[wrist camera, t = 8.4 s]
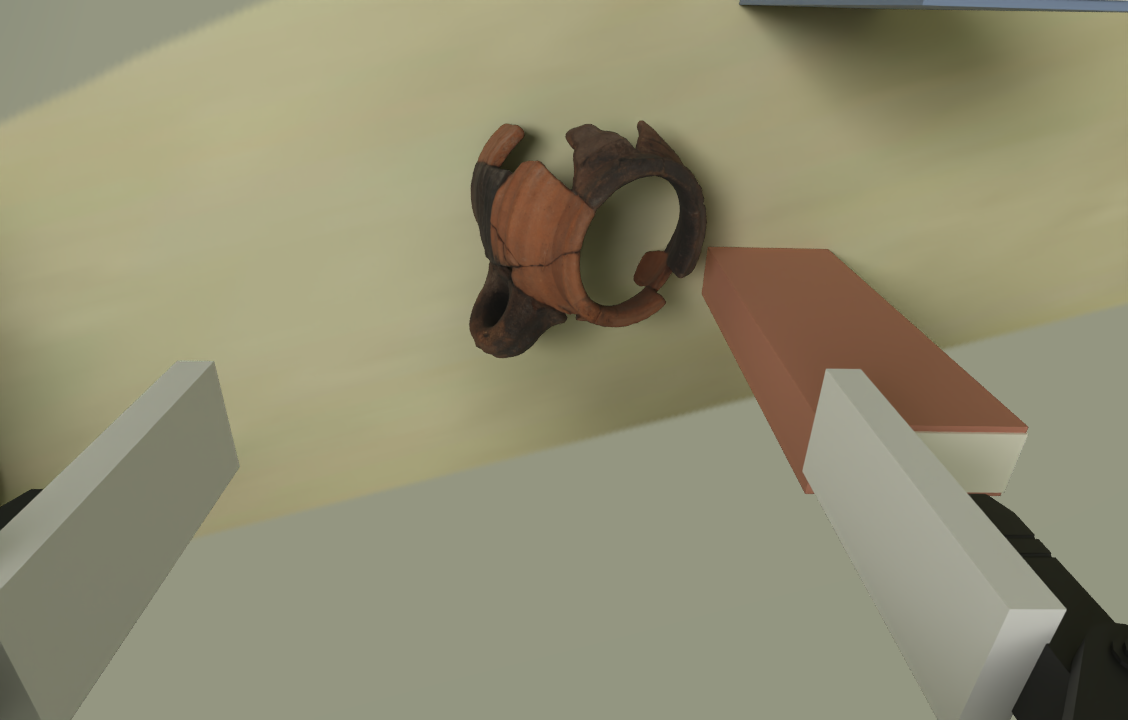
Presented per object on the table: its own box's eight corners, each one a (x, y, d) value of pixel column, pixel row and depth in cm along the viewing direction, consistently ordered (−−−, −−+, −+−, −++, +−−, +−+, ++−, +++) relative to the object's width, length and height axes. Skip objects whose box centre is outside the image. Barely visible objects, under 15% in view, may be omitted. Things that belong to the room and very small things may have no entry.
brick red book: (701, 293, 35) (806, 495, 20) (707, 246, 34) (823, 425, 19) (819, 296, 35) (1005, 497, 21) (830, 249, 34) (1033, 428, 19)
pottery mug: (519, 49, 29) (629, 85, 23) (649, 156, 36) (761, 206, 30) (385, 284, 31) (454, 372, 26) (530, 346, 38) (612, 428, 32)
